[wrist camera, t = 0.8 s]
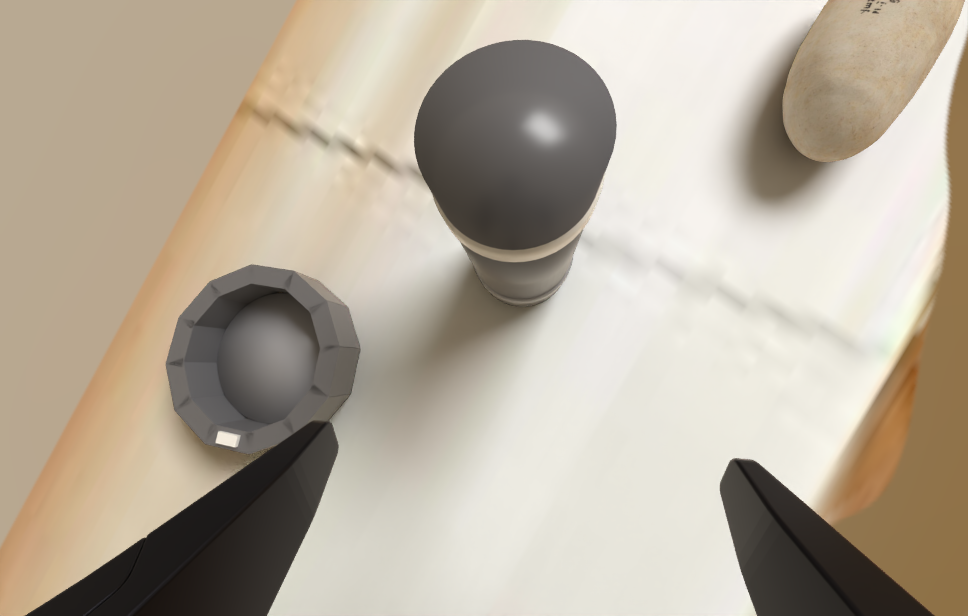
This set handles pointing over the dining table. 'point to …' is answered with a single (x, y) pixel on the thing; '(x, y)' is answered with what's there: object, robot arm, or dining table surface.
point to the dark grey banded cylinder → (517, 160)
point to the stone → (861, 71)
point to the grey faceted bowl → (261, 358)
